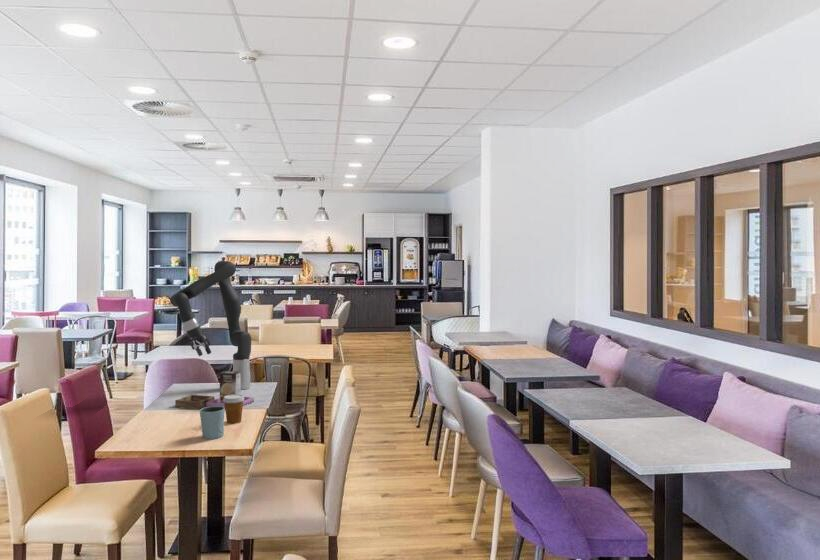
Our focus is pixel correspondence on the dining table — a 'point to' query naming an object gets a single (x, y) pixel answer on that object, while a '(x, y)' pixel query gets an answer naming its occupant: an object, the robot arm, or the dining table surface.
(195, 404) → the holder
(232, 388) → the coffee box
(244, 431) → the dining table surface
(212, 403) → the tray
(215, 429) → the teal cup
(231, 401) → the disposable coffee cup
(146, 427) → the dining table surface
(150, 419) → the dining table surface
